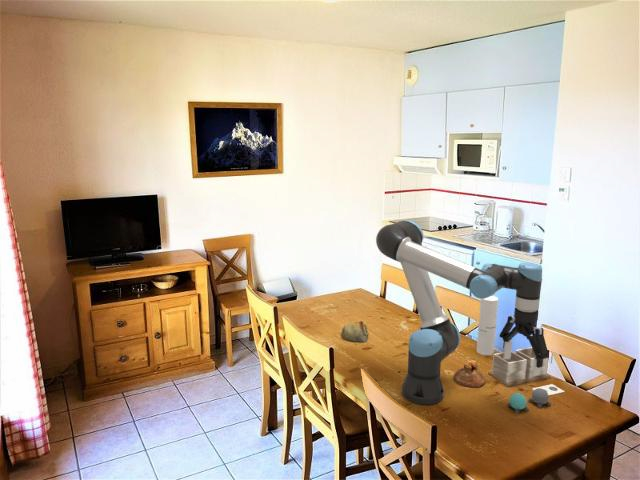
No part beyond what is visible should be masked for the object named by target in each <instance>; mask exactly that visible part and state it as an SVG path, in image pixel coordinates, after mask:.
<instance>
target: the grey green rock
mask: <svg viewBox="0 0 640 480" xmlns="http://www.w3.org/2000/svg"><path fill="white" fill-rule="evenodd" d="M369 335H370V333H369V332H368V328H367V325H366V324H365V323H364V322H363V321H362V320H360V321H356V322H355V321H354V322H352V323H351V322H350V323H347V324H346V325H344V326H343V327H342V330H341V337H342V338H343V339H345V340H347V341H349V342H354V343H367V342H368V340H369Z"/></svg>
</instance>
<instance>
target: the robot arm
mask: <svg viewBox="0 0 640 480" xmlns="http://www.w3.org/2000/svg"><path fill="white" fill-rule="evenodd" d="M423 241H424V232H423V230H422V228H421V226H420V225H419V224H418V223H416V222H414V221H412V220H400V221H397V222H395V223H391V224H386V225H385V226H383V227H382V228H380V229H379V231H378V233H377V234H376V238H375V244H376V246H377V248H378V251H379V252H380V253H381V254H383V256H385V257H387V258H390V260H391V259H392V260H393V261H395V262H398V263H400V265H401V267H402V270H403V273H404V275H405V278H406V281H407V283H408V287H409V289H410V292H411V295H412V297H413V302H414V304H415V306H416V309H417V312H418V314H419V318H420V319H421V320H420V321H421V322H420V325H419V329H418V330H415V331H413V332H412V333H411V334H410V336H409V338H408V340H409V341H408V343H407V344H408V353H407V373H406V375H405V378H404V381H403V383H402V386H401V395H402V396H403V397H404V399H406V400H407V401H410V402H411V403H415V404H418V405H426V406H427V405H429V406H430V405H435V404H439V403H440V402H442V401H443V400H444V396H445V393H444V392H445V391H444V387H443V383H442V380H441V367H442V366H441V365H442V361H444V360H445V359H446V358H448V356H450V355H451V354H452V353H455V351H456V350H457V348H458V347H459V345H460V343H461V332H460V330H459V329H458V327H457V326H456V325H455V324H454V323H453V322H452V321H451V320H450V317H449V316H447V315H446V314H444V313H443V310H442V309H443V308H442V307H441V304H440V301H439V299H438V296H437V294H436V291H435V288H434V285H433V282H432V280H431V277H430V275H429V273H431V274H433V275H435V276H438V277H440V278H443V279H444V280H446V281H448V282H449V281H450V282H452V283H454V284H456V285H458V286H461V287H463V288H466V289H468V290H469V291H470V292H471V294H472V295H473V296H474V297H475V298H478V299H480V300H481V299H485V298H488V297H490V296H494V295H495V293H497V292H499V291H500V290H501V289H508V290H515V301H514V302H515V303H514V310H513V312H514V313H513V315H509V316H508V317H507V321H506V323H505V324H504V327H503V328H502V329H501V332H500V333H499V337H500V338H501V339H502V340H503V345H502V348H503V352H504V355H503V359H510V358H511V351H512V345H513V341H512V340H513V338H514V337H515V336H516V335H518V334H519V335H522V336H523V337H526V340H528V341H529V344H530V346H531V347H532V349H533V351H534V353H535V355H536V357H534V362H533V372H532V376H537V375H540V370H541V367H542V365H543V359H546V358H549V359H550V355H549V350H548V347H547V344H546V339H545V335H544V328H543V327H537V326H536V324H537V322H538V320H539V307H540V299H541V290H542V282H543V267H542V266H541V265H540V264H538V263H534V262H521V263H519V264H518V266H517V267H515V266H513V267H512V266H507V265H501V264H498V263H485V264H484V263H483V266H482V267H481V269H480V268H477V267H475V266H473V265H470V264H467V263H466V262H463V261H460V260H457V259H455V258H453V257H451V256H448V255H446V254H444V253H440V252H438V251H436V250H433V249H431V248H428V247H426V246H424V245H423V244H422V243H423ZM539 354H540V355H539Z"/></svg>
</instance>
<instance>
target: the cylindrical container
mask: <svg viewBox="0 0 640 480" xmlns="http://www.w3.org/2000/svg"><path fill="white" fill-rule="evenodd" d="M498 307H499V298H498V297H497V296H495V295H492V296H490V297H488V298H485V299H480V303H479V315H478V316H479V317H478V329H477V338H476V339H477V342H476V352H477V353H478V354H479V355H482V356H493V354H495V353H494V352H495V340H496V329H497V318H498Z"/></svg>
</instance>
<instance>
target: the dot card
mask: <svg viewBox="0 0 640 480" xmlns="http://www.w3.org/2000/svg"><path fill="white" fill-rule="evenodd" d="M538 388H541V389H544V390H545V391H546V392H547V393H548V395H549V396H553V395H558V394H561V393H565V390H563V389H561V388H560V387H558V386H557V385H555V384H553V383H550V384H547V385H542V386H538V387H532V389H531V390H533V391H534V390H535V389H538Z"/></svg>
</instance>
